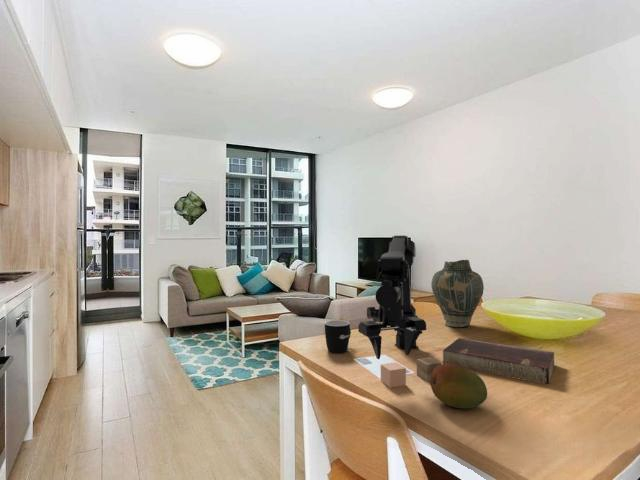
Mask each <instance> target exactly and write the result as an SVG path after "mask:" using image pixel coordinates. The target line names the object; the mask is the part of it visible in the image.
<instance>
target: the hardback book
mask: <svg viewBox="0 0 640 480" xmlns="http://www.w3.org/2000/svg"><path fill="white" fill-rule="evenodd" d="M445 363H450V364H457V365H460V366H463V367H465V368H468V369H470V370H471V371H478V372H481V371H482V373H486V372H487V373H486V374H491V373H492V375H496V374H499V375H498V376H501V375H504V376H503V377H506V376H509V377H508V378H511V377H515V378H514V379H516V378H520V379H519V380H521V379H525V380H524V381H526V380H530V381H529V382H532V381H534V382H533V383H537V382H539V383H538V384H542V383H543V384H542V385H547V384H549V385H550V382H551V379H552V375H553V371H554V368H555V351H548V350H543V349H535V348H528V347H524V346H522V347H521V346H516V345H510V344H509V345H508V344H503V343H498V342H497V343H496V342H489V341H485V340H484V341H483V340H476V339H470V338H465V337H464V338H463V337H458V338H457V339H456V340H454V341H453V342H452V343H450V344H449V345H448V346H446V347H445V348H444V349H443V350H442V364H445Z"/></svg>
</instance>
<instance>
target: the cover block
mask: <svg viewBox="0 0 640 480" xmlns="http://www.w3.org/2000/svg"><path fill="white" fill-rule="evenodd" d="M396 362H397V361H396ZM396 362H394V363H387V364H381V379H380V382H381V383H383V384H384V385H385V386H387V387H388V388H389V389H390V388H391V389H392V388H396V387H402V386H403V387H404V386H406V385H407V383H406V382H407V380H406V379H407V378H406V376H407V375H406V368H407V367H406V366H404V365H403V366H404V367H403V366H401V365H402V364H401V363H399V362H398V363H399V364H398V363H396ZM400 364H401V365H400ZM405 367H406V368H405Z"/></svg>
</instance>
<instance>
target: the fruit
mask: <svg viewBox="0 0 640 480" xmlns="http://www.w3.org/2000/svg"><path fill="white" fill-rule="evenodd" d="M429 384H430V387H431V391H432V393H433V394H434V397H435V398H436V399H438V400H439V401H440V402H441V403H443V404H445V405H447V406H450V407H453V408H456V409H472V408H476V407H478V406H480V405H482V404H483V403H485V401H486V400H487V398H488V388H487V385H486V384H485V381H484V380H483V379H482V378H481V377H480V375H478V374H477V373H475V371H474V370H471V369H468V368H465V367H463V366H460V365H457V364H450V363H445V364H444V363H442V364H441V365H439V366H437V367H436V368H435V369H434V370H433V371H432V373H431V378H430V381H429Z"/></svg>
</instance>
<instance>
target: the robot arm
mask: <svg viewBox="0 0 640 480" xmlns="http://www.w3.org/2000/svg"><path fill="white" fill-rule="evenodd" d="M416 249H417V247H416V243H415V242H414V241H413V240H411V239H410V238H409V237H408V235H394V236H391V240H390V242H389V245H388V250H387V251H388V252H385V253H383V254H382V255H380V259H378V260H377V265H376V266H377V267H376V275H375V282H379V283H381V285H380V286H379V288H378V289H377V290H376V292H375V300H376V302H377V304H378V305H379V307H378V308H377V309H376V307H375V306H369V307H367V308H366V316H367V319H368V320H367V321H360V323H359V324H358V328H357V329H358V331H357V332H358V333H360V334H362V335H363V336H365V337H367V338H368V339H369V342H370V344H371V346H372V349H373V351H374V354H375V355H374V356H376V358H377V359H380V355H382V354H381V353H382V338H383V337H382V336H381V335H380V334H382V331H391V330H393V331H394V332H396V334H395V343H394V346H395V347H397V348H399V349H401V350H403V351H404V354H405V356H409V355H410V353H411V351H412V350H417V349H419V347H420V346H418V345H417V340H418V338H419V337H420V335H422V334H423V331H426V330H427V323H426V320H424V319H423V318H421V317H418V315H417V309H416V307H414V305H413V304H412V294H411V293H412V291H411V267H412V265H413V263H414V259H415V257H416V255H417V252H416V251H417V250H416ZM369 319H370V320H369ZM371 319H372V320H371Z"/></svg>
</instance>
